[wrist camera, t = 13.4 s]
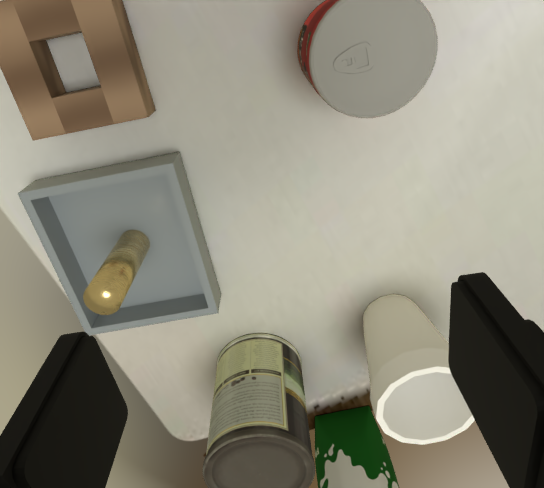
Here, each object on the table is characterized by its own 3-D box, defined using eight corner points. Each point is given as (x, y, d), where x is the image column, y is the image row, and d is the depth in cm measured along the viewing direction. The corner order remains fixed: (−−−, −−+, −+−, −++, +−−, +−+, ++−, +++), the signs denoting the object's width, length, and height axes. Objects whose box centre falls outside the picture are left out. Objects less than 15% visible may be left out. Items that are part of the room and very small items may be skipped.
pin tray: (35, 180, 41) (17, 193, 38) (179, 151, 41) (172, 162, 37) (97, 315, 49) (86, 335, 46) (220, 293, 48) (218, 313, 45)
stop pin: (115, 232, 43) (77, 287, 35) (144, 227, 43) (113, 281, 34) (125, 258, 45) (91, 317, 36) (153, 253, 45) (126, 311, 36)
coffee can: (318, 354, 52) (337, 461, 40) (272, 408, 56) (276, 520, 43) (243, 318, 49) (238, 420, 37) (200, 377, 53) (182, 487, 41)
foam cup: (448, 310, 50) (506, 398, 38) (392, 361, 53) (429, 457, 41) (387, 267, 47) (430, 349, 35) (332, 324, 50) (353, 416, 39)
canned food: (279, 30, 36) (286, 35, 26) (366, -29, 34) (409, -47, 25) (323, 111, 39) (344, 142, 30) (405, 61, 38) (457, 76, 28)
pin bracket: (-5, 8, 35) (-27, 7, 32) (116, -19, 34) (104, -23, 32) (48, 132, 39) (32, 140, 37) (155, 110, 39) (148, 117, 36)
